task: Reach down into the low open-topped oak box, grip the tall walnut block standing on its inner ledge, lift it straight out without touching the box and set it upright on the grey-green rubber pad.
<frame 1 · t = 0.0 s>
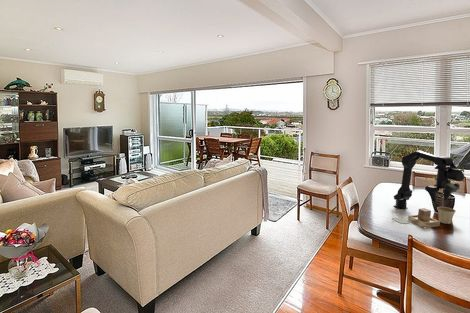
hand: (439, 201, 165), 15 cm above the table, fingers open, 9 cm apart
walnut block: (423, 220, 168), point 2 cm above the table, touching oak box
oak box: (423, 223, 168), on the table
flower pot: (444, 222, 169), on the table
pad: (402, 220, 172), on the table
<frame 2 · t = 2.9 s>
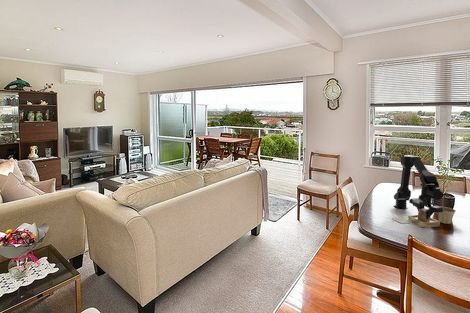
hand: (423, 217, 167), 4 cm above the table, fingers closed on walnut block, 4 cm apart
walnut block: (423, 220, 168), point 2 cm above the table, touching gripper, oak box
everything else where it was.
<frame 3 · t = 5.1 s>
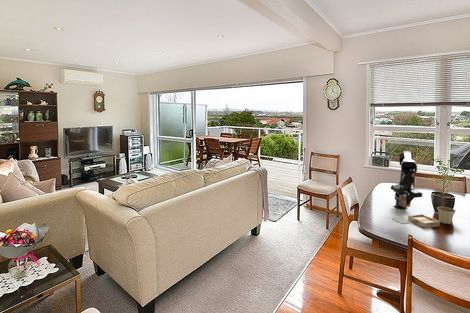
hand: (404, 203, 170), 12 cm above the table, fingers closed on walnut block, 4 cm apart
walnut block: (404, 205, 170), point 10 cm above the table, touching gripper
everything else where it was.
when the fingers open (3 cm above the table, at t = 7.4 s): walnut block drops 1 cm, resting on pad.
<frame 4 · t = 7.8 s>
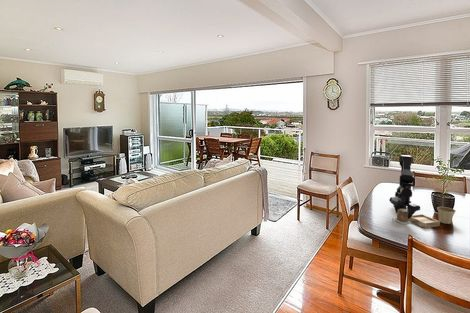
hand: (402, 215, 171), 3 cm above the table, fingers open, 9 cm apart
walnut block: (402, 220, 172), resting on pad
everything else where it was.
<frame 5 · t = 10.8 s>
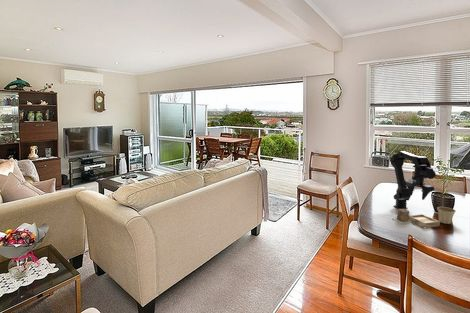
hand: (416, 197, 177), 13 cm above the table, fingers open, 9 cm apart
nothing on the table moved.
at the end: walnut block inside the target area on the pad (0.0 cm from its centre), point 0.4 cm above the pad's base; walnut block tilted 0°; walnut block touching pad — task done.
